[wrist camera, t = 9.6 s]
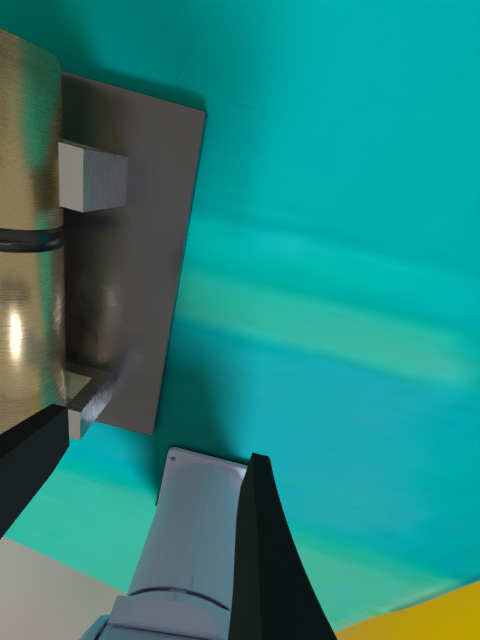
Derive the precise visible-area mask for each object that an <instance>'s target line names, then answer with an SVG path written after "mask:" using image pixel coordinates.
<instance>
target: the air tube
mask: <svg viewBox="0 0 480 640" xmlns="http://www.w3.org/2000/svg"><path fill="white" fill-rule="evenodd" d="M58 142H61V143H62V95H61V61H60V59H59V58H57V57H56V56H55V55H53V54H52V53H50V52H48V51H47V50H45V49H43V48H41V47H39V46H37V45H35V44H33V43H31V42H29V41H27V40H25V39H23V38H21V37H19V36H16V35H14V34H12V33H10V32H7V31H5V30H3V29H0V434H1V433H3V432H5V431H7V430H8V429H10V428H12V427H13V426H15V425H17V424H18V423H20V422H22V421H23V420H25V419H27V418H29V417H30V416H32V415H34V414H35V413H37V412H39V411H40V410H42V409H44V408H45V407H47V406H49V405H51V404H56V405H60V406H65V407H66V344H65V282H64V244H65V222H64V219H63V207H62V206H60V198H59V150H58Z"/></svg>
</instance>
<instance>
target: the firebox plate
mask: <svg viewBox="0 0 480 640" xmlns="http://www.w3.org/2000/svg"><path fill="white" fill-rule="evenodd" d="M61 95H62V143H61V142H58V150H59V198H60V206H62V207H63V219H64V222H65V244H64V282H65V344H66V407H68V419H69V438H73V439H77V440H81V438H82V437H83V436H84V434H85V433H86V432H87V430H88V429H89V428H90V426H91V425H92V424H93V422H94V421H97V422H100V423H104V424H108V425H112V426H116V427H120V428H124V429H127V430H131V431H135V432H139V433H143V434H147V435H150V436H152V435H153V433H154V431H155V426H156V420H157V414H158V408H159V402H160V396H161V390H162V384H163V378H164V372H165V366H166V360H167V354H168V348H169V342H170V336H171V330H172V324H173V318H174V312H175V306H176V301H177V295H178V289H179V283H180V277H181V271H182V265H183V259H184V253H185V247H186V241H187V235H188V229H189V223H190V217H191V211H192V205H193V199H194V193H195V187H196V181H197V175H198V169H199V163H200V157H201V151H202V145H203V140H204V134H205V128H206V122H207V116H208V114H207V113H206V112H204V111H201V110H197V109H194V108H190V107H187V106H183V105H180V104H176V103H173V102H169V101H166V100H162V99H159V98H155V97H152V96H148V95H145V94H141V93H138V92H134V91H131V90H127V89H124V88H120V87H117V86H113V85H110V84H106V83H103V82H99V81H95V80H92V79H88V78H85V77H81V76H78V75H74V74H71V73H67V72H64V71H61Z"/></svg>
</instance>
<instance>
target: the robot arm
mask: <svg viewBox="0 0 480 640" xmlns="http://www.w3.org/2000/svg"><path fill="white" fill-rule="evenodd" d="M68 447H69V419H68V407H65V406H60V405H56V404H51V405H49V406H47V407H45V408H44V409H42V410H40V411H39V412H37V413H35V414H34V415H32V416H30V417H29V418H27V419H25V420H23V421H22V422H20V423H18V424H17V425H15V426H13V427H12V428H10V429H8V430H7V431H5V432H3V433H1V434H0V539H1V537H3V535H4V534H5V533H6V531H7V530H8V529H9V528H10V526H11V525H12V524H13V522H14V521H15V520H16V519H17V517H18V516H19V515H20V513H21V512H22V511H23V510H24V508H25V507H26V506H27V505H28V503H29V502H30V501H31V499H32V498H33V497H34V496H35V494H36V493H37V492H38V491H39V489H40V488H41V487H42V485H43V484H44V483H45V481H46V480H47V479H48V478H49V476H50V475H51V474H52V472H53V471H54V469H55V468H56V466H57V465H58V463H59V461H60V460H61V458H62V457H63V455H64V453H65V452H66V450H67V448H68ZM79 640H337V638H336V636H335V634H334V632H333V630H332V628H331V626H330V624H329V622H328V620H327V618H326V616H325V614H324V612H323V610H322V608H321V606H320V604H319V601H318V599H317V597H316V595H315V593H314V590H313V588H312V586H311V584H310V581H309V579H308V577H307V574H306V572H305V570H304V567H303V565H302V562H301V560H300V557H299V555H298V552H297V549H296V547H295V544H294V541H293V539H292V536H291V533H290V530H289V527H288V524H287V521H286V518H285V515H284V512H283V509H282V505H281V502H280V499H279V495H278V491H277V488H276V484H275V480H274V476H273V472H272V467H271V462H270V458H269V457H268V456H264V455H260V454H256V453H252V456H251V459H250V461H249V464H248V466H246V465H243V464H239V463H235V462H231V461H227V460H223V459H220V458H216V457H212V456H208V455H204V454H200V453H196V452H193V451H189V450H185V449H181V448H177V447H171V448H170V449H169V451H168V455H167V460H166V465H165V469H164V474H163V479H162V484H161V489H160V494H159V499H158V504H157V508H156V513H155V516H154V519H153V522H152V525H151V527H150V530H149V533H148V536H147V539H146V542H145V545H144V547H143V550H142V553H141V556H140V559H139V562H138V565H137V567H136V570H135V573H134V576H133V579H132V582H131V585H130V587H129V590H128V593H127V596H120V595H119V596H117V598H116V601H115V603H114V606H113V609H112V611H111V614H110V615H103V616H100V617H99V618H98V619H97V620H96V621H95V622H94V623H93V624H92V625H91V627H90V628H89V629H88V630H87V631H86V632H85V633H84V634H83V635H82V636H81V638H80V639H79Z"/></svg>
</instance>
